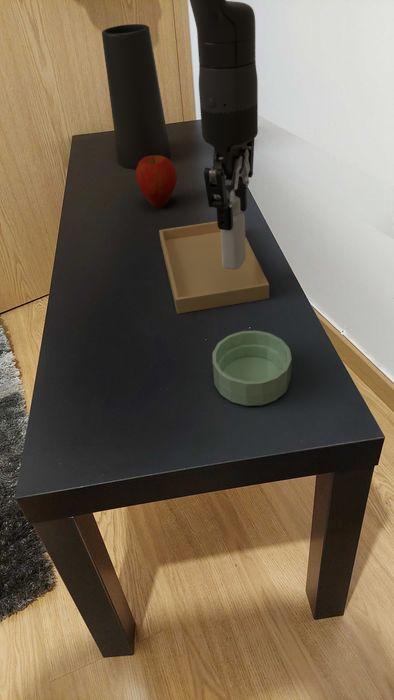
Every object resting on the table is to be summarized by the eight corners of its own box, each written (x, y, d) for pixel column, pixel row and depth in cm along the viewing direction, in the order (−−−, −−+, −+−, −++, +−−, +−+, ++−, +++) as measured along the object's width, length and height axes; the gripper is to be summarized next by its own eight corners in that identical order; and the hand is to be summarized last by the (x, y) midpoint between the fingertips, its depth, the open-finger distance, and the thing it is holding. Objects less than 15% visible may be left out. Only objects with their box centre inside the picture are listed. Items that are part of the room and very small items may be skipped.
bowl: (298, 363, 71) (300, 339, 68) (277, 416, 64) (278, 391, 61) (229, 348, 75) (228, 324, 72) (203, 396, 68) (200, 372, 65)
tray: (269, 298, 83) (269, 284, 81) (177, 314, 82) (175, 300, 80) (237, 231, 100) (236, 218, 98) (160, 242, 99) (158, 230, 97)
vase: (127, 148, 138) (106, 24, 119) (176, 148, 135) (162, 20, 116) (111, 169, 128) (85, 37, 109) (163, 169, 126) (146, 34, 106)
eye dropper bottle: (212, 263, 82) (207, 193, 74) (236, 249, 85) (234, 180, 77) (231, 273, 80) (228, 201, 72) (255, 258, 82) (255, 187, 74)
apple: (181, 196, 114) (176, 147, 106) (177, 214, 107) (171, 163, 100) (144, 197, 115) (136, 149, 108) (137, 215, 108) (129, 165, 101)
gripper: (236, 120, 60) (240, 246, 71) (272, 85, 70) (270, 201, 81) (179, 117, 63) (191, 239, 74) (221, 83, 72) (226, 196, 83)
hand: (232, 218), depth 77 cm, fingers closed on eye dropper bottle, 5 cm apart
